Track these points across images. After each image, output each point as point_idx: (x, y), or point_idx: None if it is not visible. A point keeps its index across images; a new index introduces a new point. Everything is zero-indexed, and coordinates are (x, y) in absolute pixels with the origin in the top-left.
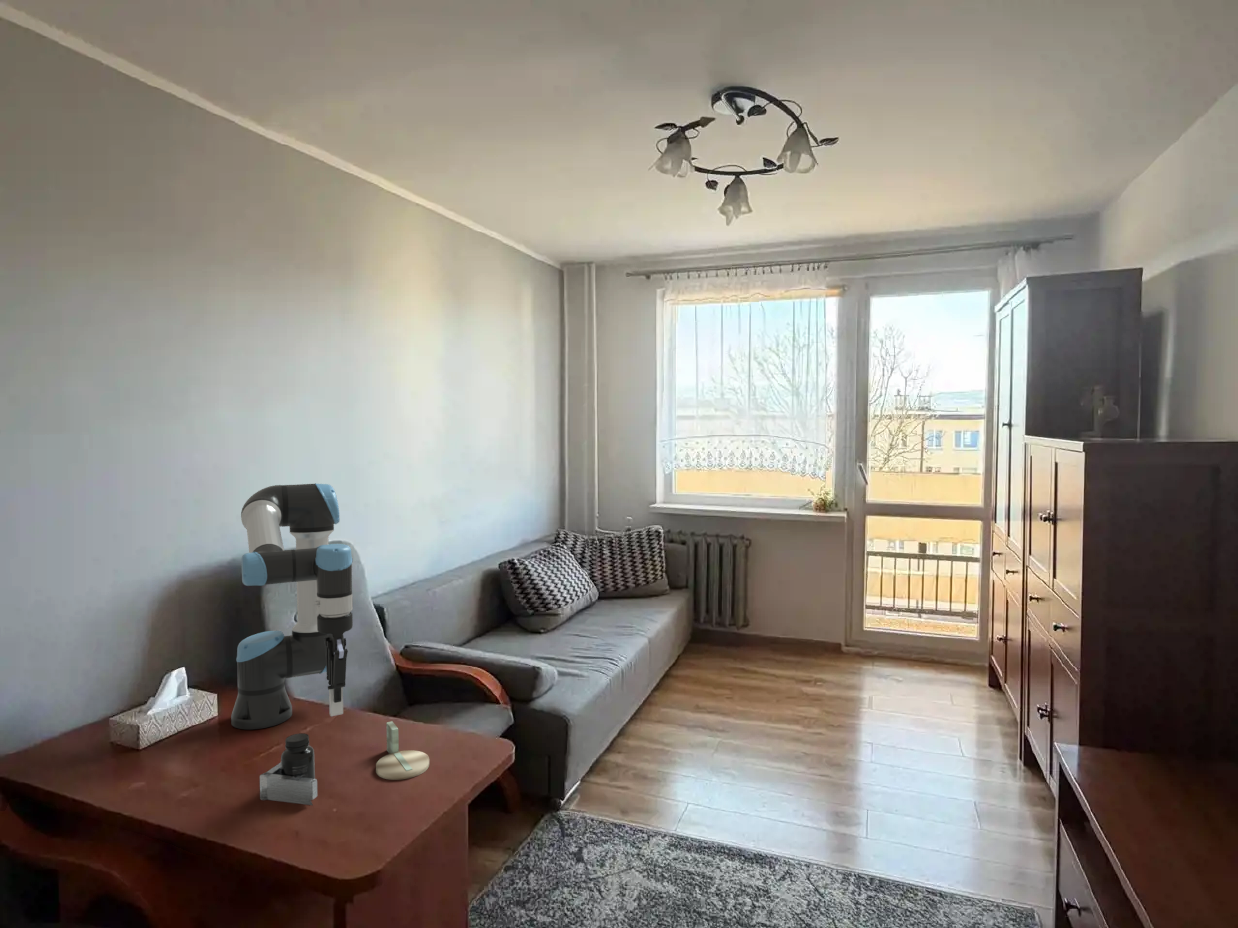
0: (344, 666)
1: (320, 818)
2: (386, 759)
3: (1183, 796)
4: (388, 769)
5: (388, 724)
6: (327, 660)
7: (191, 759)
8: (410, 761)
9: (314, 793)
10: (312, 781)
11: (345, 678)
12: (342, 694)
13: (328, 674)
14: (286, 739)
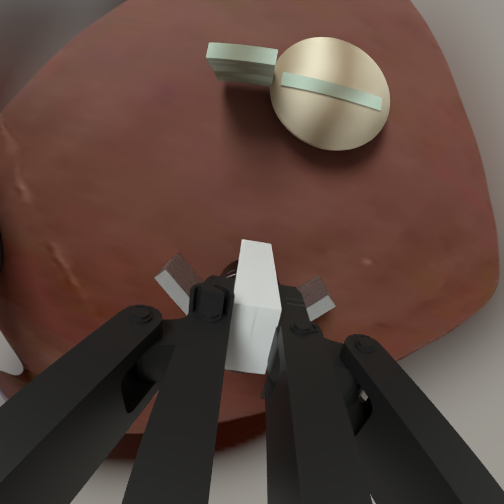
0: (471, 470)
1: (373, 289)
2: (294, 109)
3: None
4: (346, 132)
5: (225, 58)
6: (90, 473)
7: (59, 351)
8: (343, 78)
9: (327, 290)
10: (330, 304)
11: (412, 381)
12: (276, 284)
13: (150, 396)
14: (233, 370)
